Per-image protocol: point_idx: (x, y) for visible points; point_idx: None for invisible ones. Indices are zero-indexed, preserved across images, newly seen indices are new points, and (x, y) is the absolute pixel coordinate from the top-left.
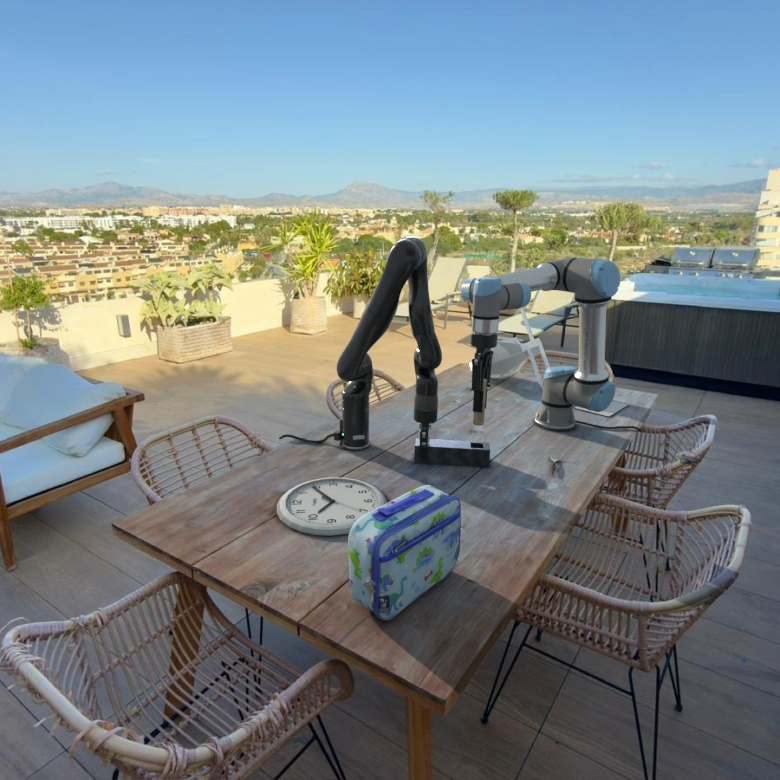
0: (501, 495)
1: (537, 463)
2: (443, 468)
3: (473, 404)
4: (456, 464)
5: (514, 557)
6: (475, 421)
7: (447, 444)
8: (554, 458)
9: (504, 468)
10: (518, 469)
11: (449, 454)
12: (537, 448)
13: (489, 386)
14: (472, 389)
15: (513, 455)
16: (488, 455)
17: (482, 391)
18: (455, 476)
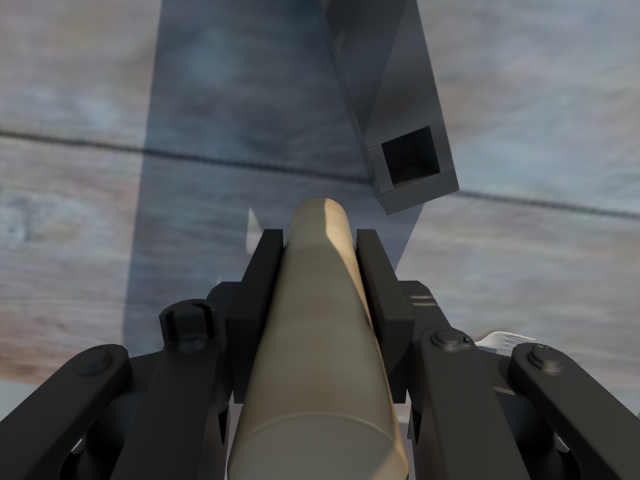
0: (228, 272)
1: (459, 306)
2: (299, 62)
3: (257, 251)
4: (344, 97)
5: (12, 350)
6: (290, 222)
7: (368, 37)
8: (500, 340)
9: (389, 239)
10: (399, 273)
11: (337, 65)
12: (569, 287)
13: (408, 433)
14: (77, 366)
15: (493, 239)
16: (382, 205)
17: (242, 398)
18: (264, 124)
